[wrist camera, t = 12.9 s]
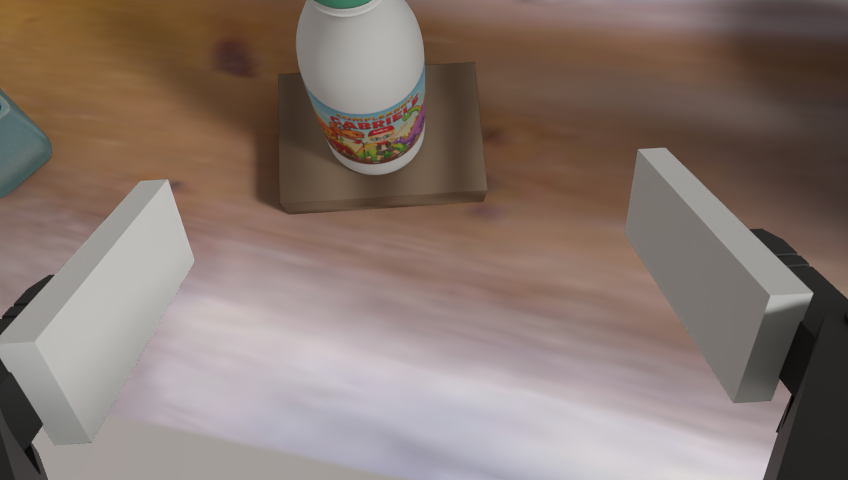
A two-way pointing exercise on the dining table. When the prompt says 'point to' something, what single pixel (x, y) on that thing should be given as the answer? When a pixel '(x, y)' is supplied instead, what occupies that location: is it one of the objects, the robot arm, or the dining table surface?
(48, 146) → the flower pot
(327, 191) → the brown flat block
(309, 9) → the milk bottle
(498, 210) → the dining table surface
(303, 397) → the dining table surface
